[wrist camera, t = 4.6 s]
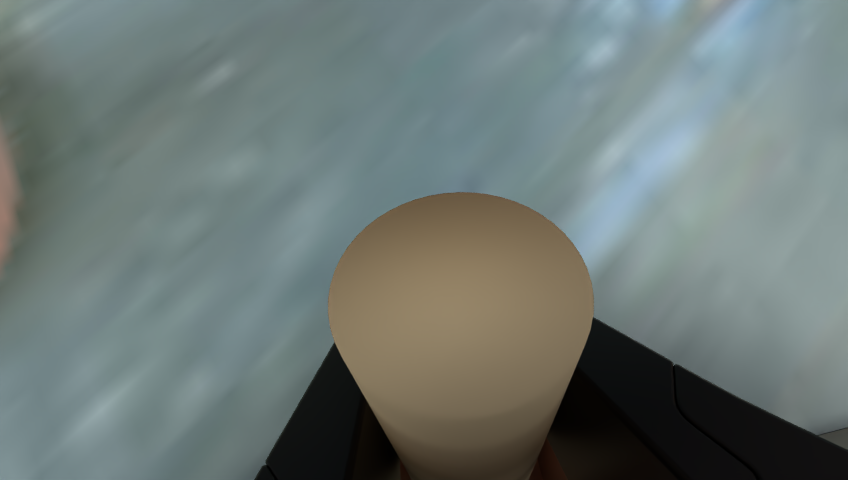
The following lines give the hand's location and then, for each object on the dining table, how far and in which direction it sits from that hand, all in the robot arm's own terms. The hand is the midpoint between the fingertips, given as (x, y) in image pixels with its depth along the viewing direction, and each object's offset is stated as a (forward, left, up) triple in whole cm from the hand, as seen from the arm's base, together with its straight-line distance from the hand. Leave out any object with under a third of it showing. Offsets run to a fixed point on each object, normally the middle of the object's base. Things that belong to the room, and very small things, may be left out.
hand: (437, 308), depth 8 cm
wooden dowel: (-3, -1, -6) cm, 7 cm away
